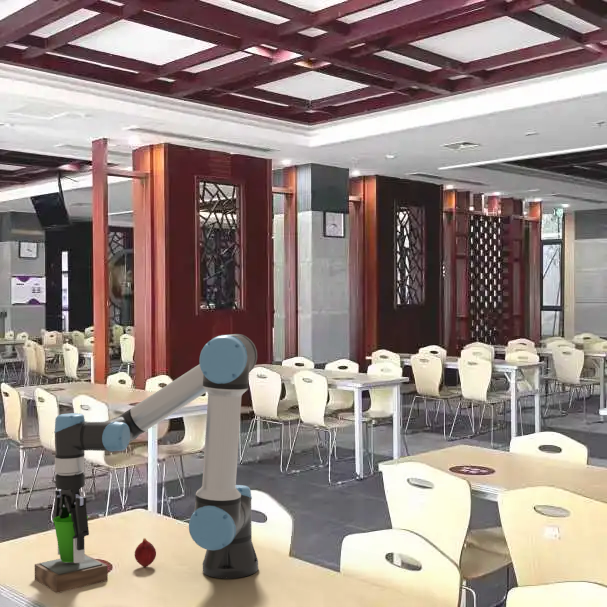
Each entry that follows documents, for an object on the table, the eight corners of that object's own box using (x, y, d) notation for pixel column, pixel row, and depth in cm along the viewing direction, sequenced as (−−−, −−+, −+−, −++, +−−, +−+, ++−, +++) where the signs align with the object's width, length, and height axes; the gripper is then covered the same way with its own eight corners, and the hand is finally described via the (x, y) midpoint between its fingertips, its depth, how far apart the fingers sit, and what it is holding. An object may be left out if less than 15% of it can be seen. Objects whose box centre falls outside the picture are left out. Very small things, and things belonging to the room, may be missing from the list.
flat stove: (107, 580, 217) (107, 564, 217) (57, 592, 208) (56, 575, 208) (83, 567, 228) (83, 552, 228) (34, 579, 219) (34, 563, 219)
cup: (78, 565, 212) (78, 523, 213) (46, 563, 214) (46, 521, 214) (94, 555, 221) (94, 514, 221) (63, 553, 223) (62, 513, 223)
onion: (160, 565, 229) (160, 536, 229) (148, 571, 224) (147, 542, 224) (143, 562, 232) (142, 534, 232) (130, 568, 226) (130, 539, 226)
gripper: (102, 476, 212) (103, 564, 212) (65, 464, 229) (66, 545, 229) (74, 480, 207) (75, 570, 207) (39, 468, 224) (40, 551, 224)
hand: (71, 557), depth 218 cm, fingers closed on cup, 9 cm apart
